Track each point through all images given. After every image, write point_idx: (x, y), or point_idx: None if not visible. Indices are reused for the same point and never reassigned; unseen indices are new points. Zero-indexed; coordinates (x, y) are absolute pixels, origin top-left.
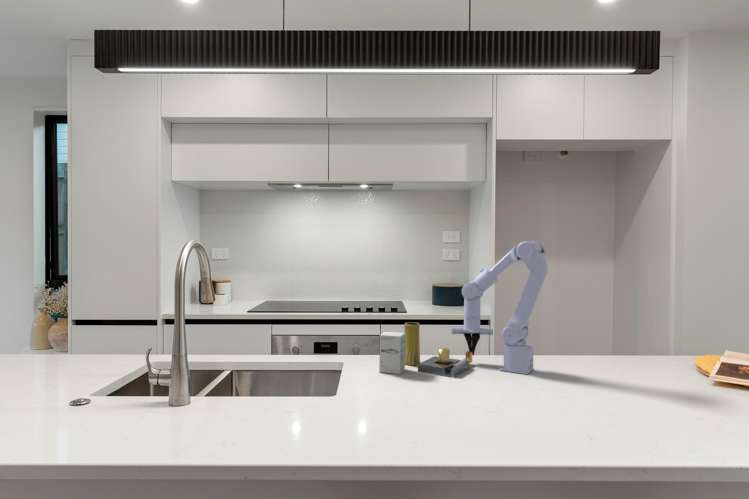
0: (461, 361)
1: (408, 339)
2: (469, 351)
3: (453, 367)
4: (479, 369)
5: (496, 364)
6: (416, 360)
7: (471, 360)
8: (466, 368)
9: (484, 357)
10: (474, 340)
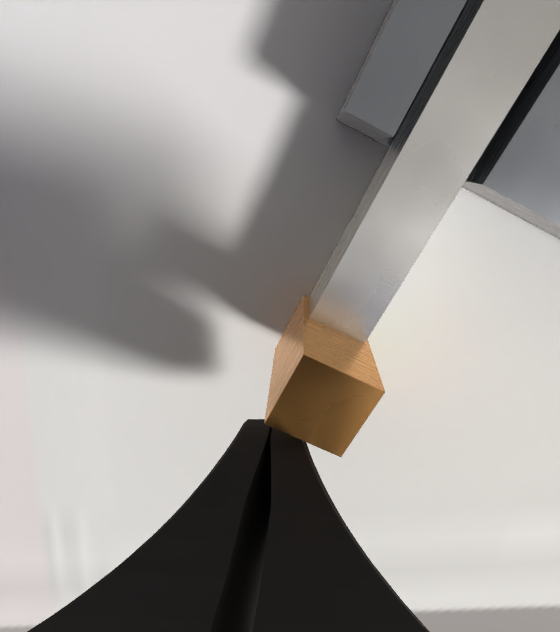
0: (479, 104)
1: None
2: (312, 431)
3: None
4: (201, 92)
5: (16, 357)
6: None
7: (286, 335)
8: (391, 7)
9: None
10: (177, 612)
